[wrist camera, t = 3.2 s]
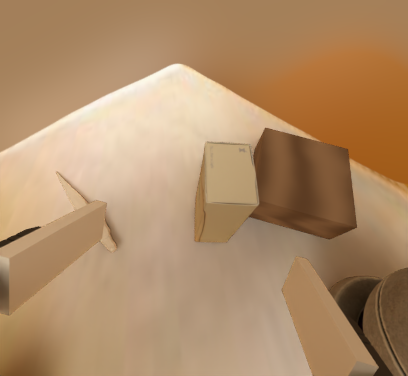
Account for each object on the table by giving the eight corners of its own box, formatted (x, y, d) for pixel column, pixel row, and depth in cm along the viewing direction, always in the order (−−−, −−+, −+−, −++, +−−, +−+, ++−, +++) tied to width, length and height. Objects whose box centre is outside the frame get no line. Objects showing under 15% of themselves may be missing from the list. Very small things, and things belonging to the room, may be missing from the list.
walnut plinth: (326, 169, 34) (348, 149, 30) (329, 239, 28) (356, 227, 24) (254, 150, 35) (265, 127, 30) (243, 215, 29) (254, 199, 24)
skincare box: (195, 198, 29) (203, 138, 19) (226, 199, 30) (251, 141, 19) (194, 243, 26) (203, 202, 16) (229, 244, 27) (261, 205, 16)
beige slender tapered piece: (127, 245, 25) (123, 241, 24) (108, 261, 24) (101, 258, 23) (68, 170, 30) (61, 162, 29) (50, 180, 29) (41, 173, 28)
